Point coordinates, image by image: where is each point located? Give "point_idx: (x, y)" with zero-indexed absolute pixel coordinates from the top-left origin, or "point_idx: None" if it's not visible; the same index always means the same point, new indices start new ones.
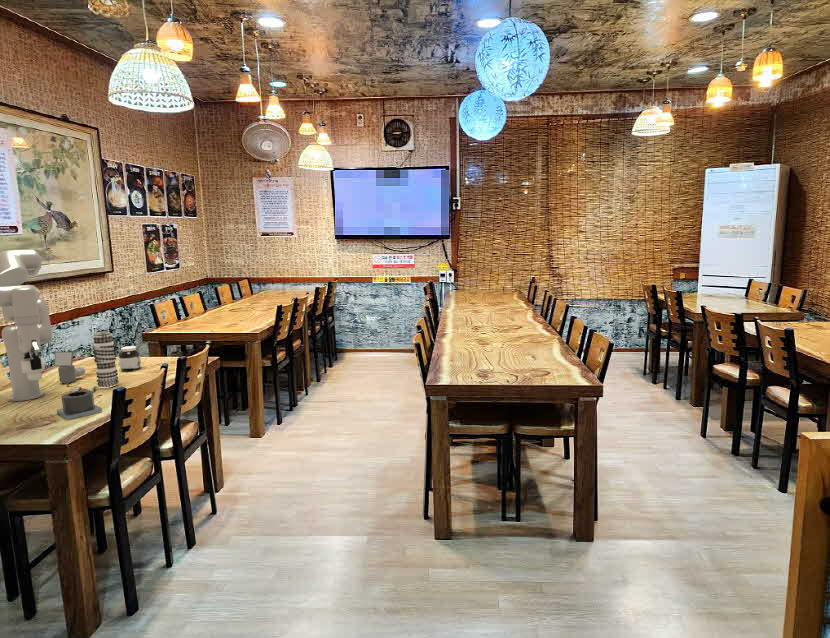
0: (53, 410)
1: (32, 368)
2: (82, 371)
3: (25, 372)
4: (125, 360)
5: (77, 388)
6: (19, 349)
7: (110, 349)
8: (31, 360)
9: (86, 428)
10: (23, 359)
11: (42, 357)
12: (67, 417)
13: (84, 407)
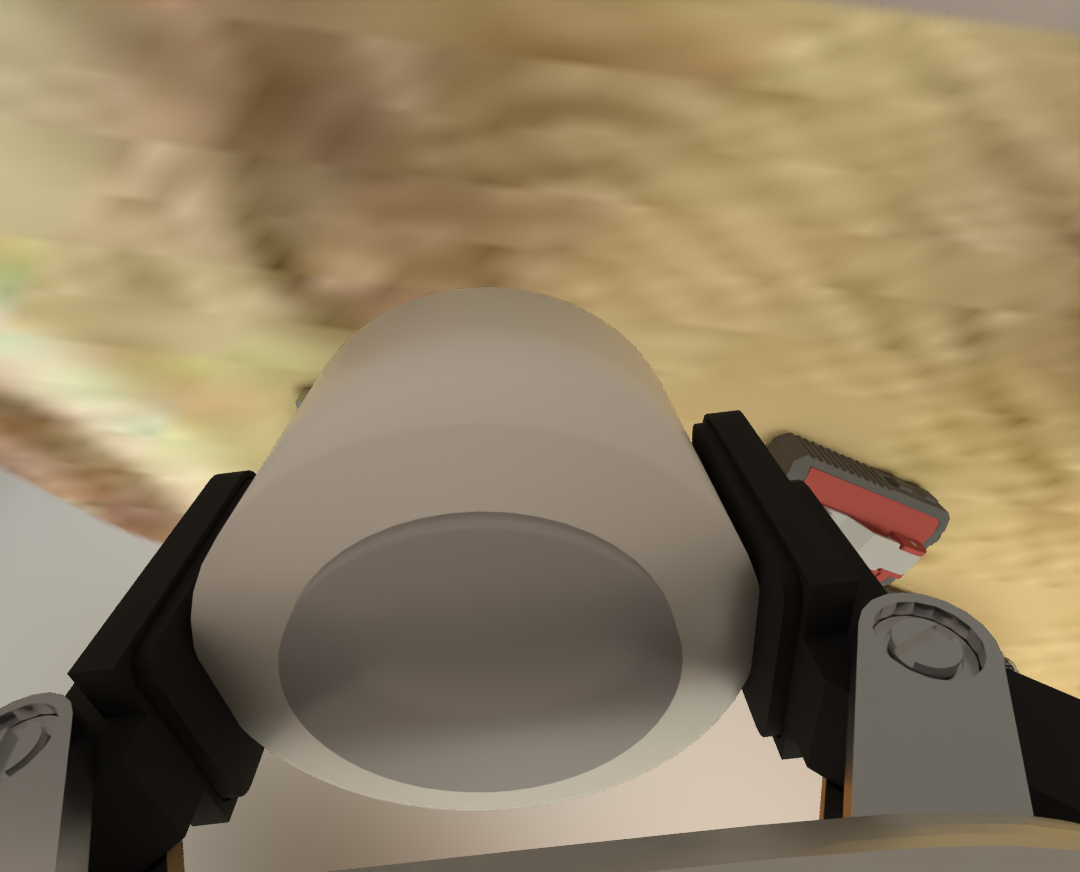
0: (648, 351)
1: (207, 504)
2: None
3: (346, 343)
4: None
5: (870, 559)
6: (1077, 853)
7: None
8: (103, 665)
9: (20, 448)
10: (678, 509)
11: (553, 797)
12: (298, 399)
13: None
